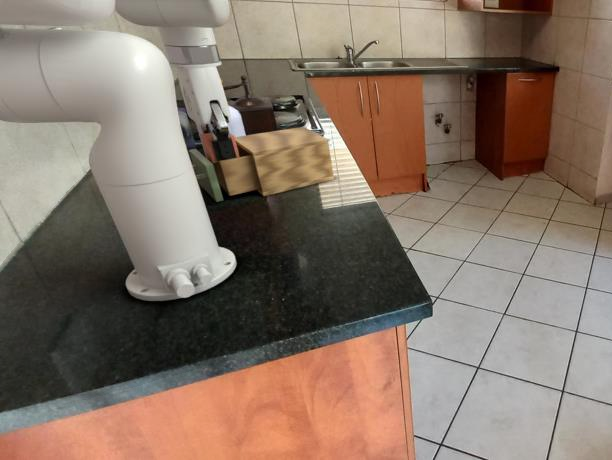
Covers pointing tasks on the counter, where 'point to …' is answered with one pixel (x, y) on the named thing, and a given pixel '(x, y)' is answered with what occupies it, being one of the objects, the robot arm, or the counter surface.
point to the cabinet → (288, 159)
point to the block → (208, 146)
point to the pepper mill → (254, 111)
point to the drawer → (226, 174)
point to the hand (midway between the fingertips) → (222, 156)
